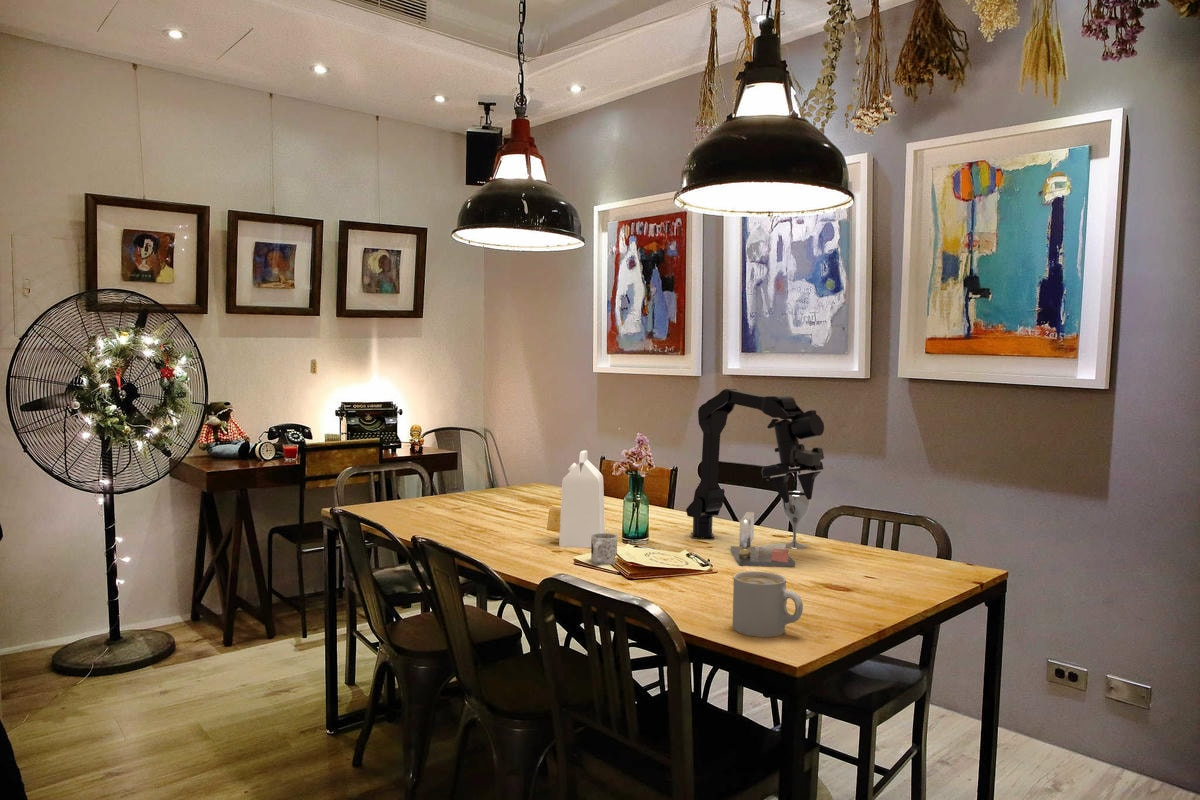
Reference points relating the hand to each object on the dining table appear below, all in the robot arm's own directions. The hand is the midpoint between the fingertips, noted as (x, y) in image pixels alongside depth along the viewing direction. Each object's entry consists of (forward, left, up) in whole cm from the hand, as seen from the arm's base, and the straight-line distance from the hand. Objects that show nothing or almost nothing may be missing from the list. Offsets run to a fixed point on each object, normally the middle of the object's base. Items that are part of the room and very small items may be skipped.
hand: (798, 501), depth 215 cm
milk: (-15, -57, -16) cm, 61 cm away
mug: (+8, -51, -16) cm, 54 cm away
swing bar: (-1, -13, -11) cm, 17 cm away
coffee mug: (+59, -18, -16) cm, 63 cm away
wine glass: (-16, +3, -16) cm, 23 cm away
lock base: (0, -9, -15) cm, 18 cm away
